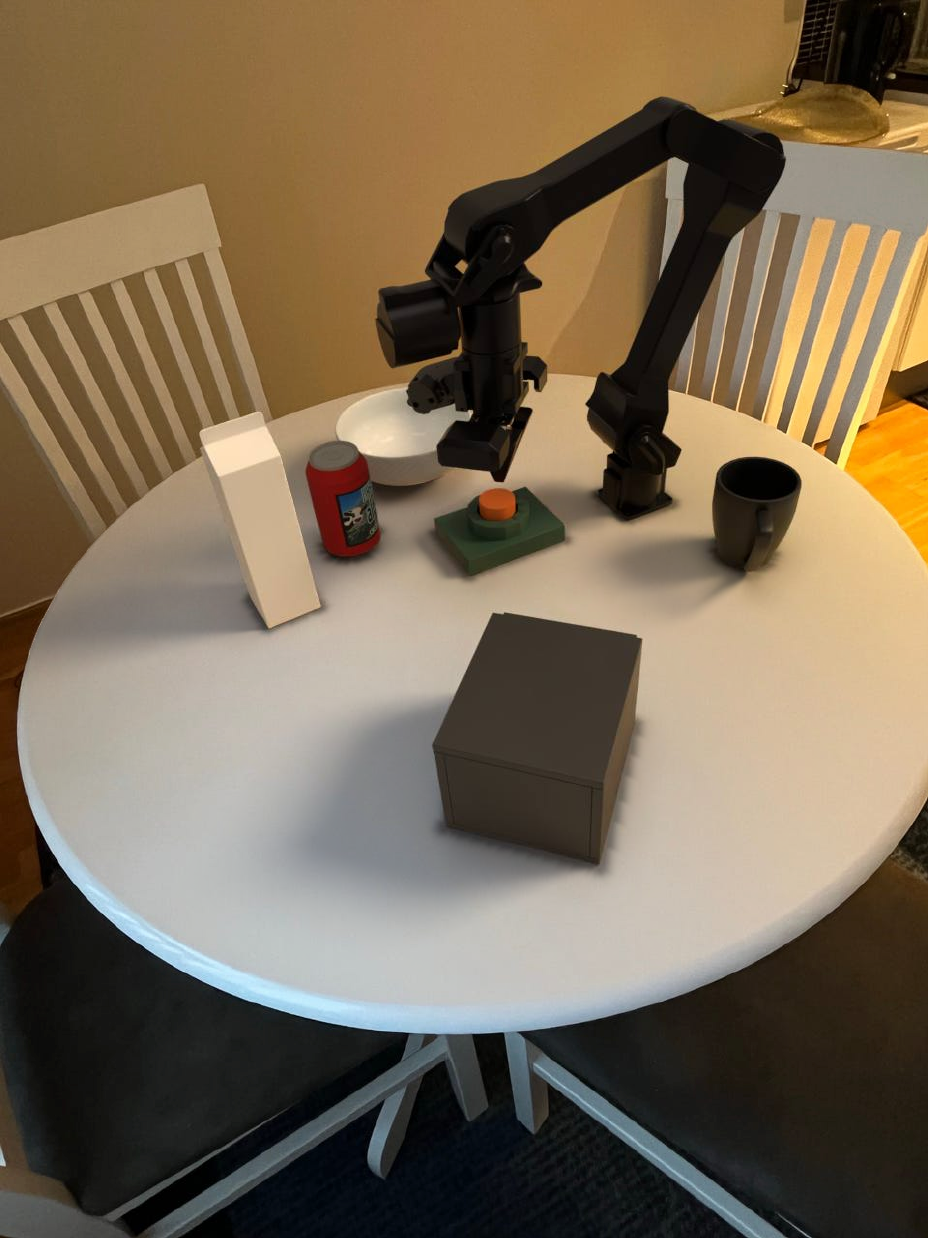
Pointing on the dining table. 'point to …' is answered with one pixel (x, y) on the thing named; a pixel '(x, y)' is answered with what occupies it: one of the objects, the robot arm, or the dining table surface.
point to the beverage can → (343, 498)
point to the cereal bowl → (397, 437)
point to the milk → (260, 517)
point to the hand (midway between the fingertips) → (499, 480)
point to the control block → (498, 533)
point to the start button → (497, 504)
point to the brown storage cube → (540, 735)
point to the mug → (753, 509)
